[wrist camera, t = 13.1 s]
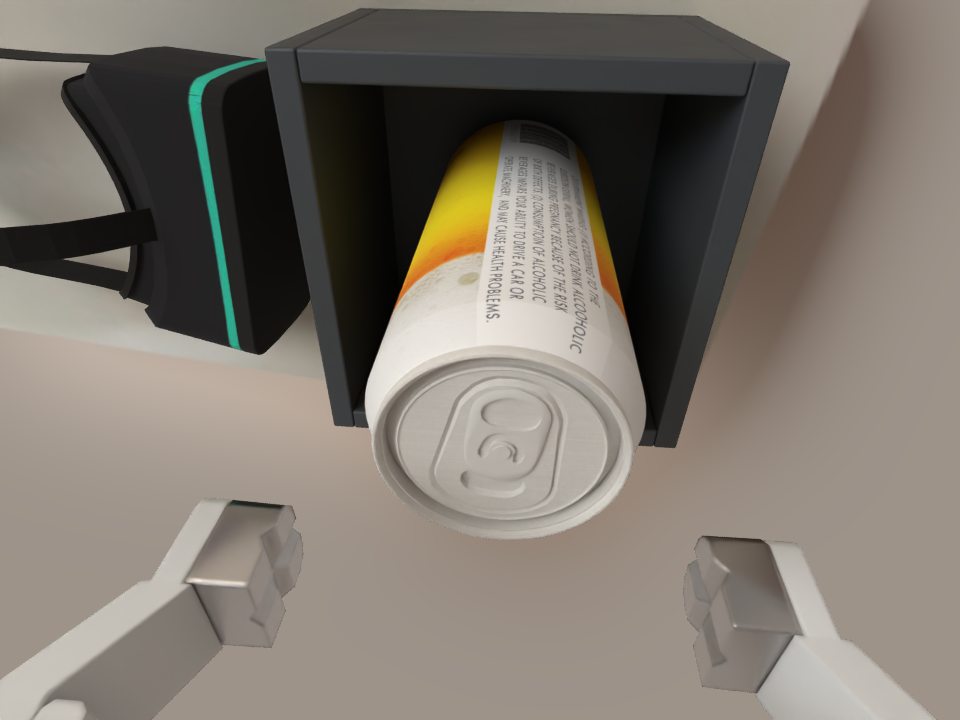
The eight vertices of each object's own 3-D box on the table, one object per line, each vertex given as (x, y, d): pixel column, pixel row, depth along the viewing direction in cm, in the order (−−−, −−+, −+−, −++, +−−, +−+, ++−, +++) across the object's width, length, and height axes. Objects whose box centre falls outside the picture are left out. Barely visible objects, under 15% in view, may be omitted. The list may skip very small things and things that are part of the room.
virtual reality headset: (314, 300, 29) (196, 433, 21) (14, 234, 31) (-201, 335, 23) (299, 57, 23) (120, 118, 15) (-83, -11, 24) (-434, 10, 16)
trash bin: (699, 15, 21) (792, 61, 13) (639, 311, 28) (675, 449, 21) (358, 7, 22) (262, 47, 14) (386, 298, 29) (333, 426, 22)
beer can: (436, 245, 25) (348, 527, 13) (454, 99, 22) (357, 306, 10) (570, 270, 26) (603, 569, 14) (612, 130, 22) (704, 369, 10)
